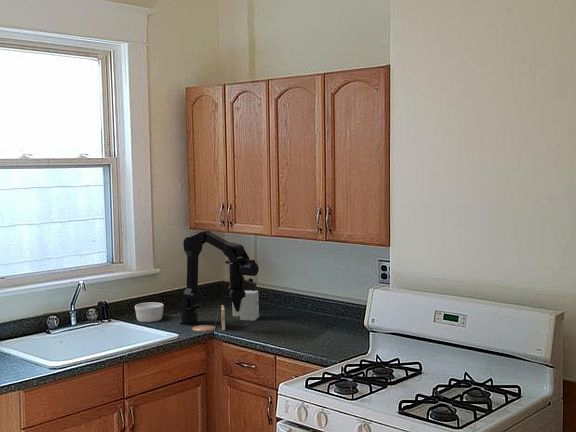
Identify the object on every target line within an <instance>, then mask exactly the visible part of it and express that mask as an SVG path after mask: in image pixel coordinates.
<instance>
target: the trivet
mask: <svg viewBox="0 0 576 432" xmlns="http://www.w3.org/2000/svg"><path fill="white" fill-rule="evenodd" d="M215 329H216V326H214V325H211V324H210V325H209V324H206V325H205V324H201V325H196V326H193V327H192V329H191V330H192V331H195V332H210V331H214V330H215Z"/></svg>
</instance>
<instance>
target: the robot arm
mask: <svg viewBox="0 0 576 432" xmlns="http://www.w3.org/2000/svg"><path fill="white" fill-rule="evenodd" d="M206 243H208V244H209V245H211V246H212V247H215V248H216V249H219V250H220V251H222V252H223V255H224V256H225V257H227V260H226V261H224V263H225V264H226V265H227V264H228V266H229V267H228V268H229V269H228V271H229V278H228V279H229V285H228V292H229V296H230V299H231V302H233V304H234V307H235V309H236V311H237V312H239V309H240V303H241V300H242V299H243V298H244V297H246V296H245V291H246V289H247V290H249V291H256V289H257V285H258V284H257V282H255V281H254V279H253V278H251V277H255V276H257V275H258V273H259V265H258V263H256V260H255V259H250V256H249V255H248V253H247V251H246V250H245V246H243V245H242V244H241V243H236V242H230V241H228V240H226V239H224V238H222V237H220V236H219V235H216V234H215V233H213V232H211V231H210V230H202V231H199V232H198V233H197V234H194V235H191V236H187V237H185V238H184V239H183V250H184V253H185V254H186V257H187V258H186V288H185V289H184V291H183V293H182V294H183V295H182V299H181V301H180V303H178V305H177V309H178V311H179V312H181V321H180V322H179V324H180V325H185V326H186V325H187V326H188V325H190V326H193V325H196V324H197V323H199V322H200V320H199V318H198V317H199V313H198V311H197V310H198V309H200V306H201V304H202V301H203V291H200V289H199V288H198V287H199V286H198V285H199V256H200V254H201V252H202V251H203V246H204V245H205V244H206ZM245 276H247V277H248V276H249V278H248V279H245Z"/></svg>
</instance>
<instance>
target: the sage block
mask: <svg viewBox="0 0 576 432" xmlns="http://www.w3.org/2000/svg"><path fill="white" fill-rule="evenodd" d="M231 302H232V301H231ZM231 304H232V305H231V306H232V317H240V316H243V310H242V300H241V303H240V309H239V312H237V311H236V309H235V307H234V304H233V302H232V303H231Z"/></svg>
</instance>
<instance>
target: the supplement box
mask: <svg viewBox="0 0 576 432" xmlns="http://www.w3.org/2000/svg"><path fill="white" fill-rule="evenodd" d="M244 291H245V296H246V297H244V298H243V299H242V310H243V316H239V317H240V318H239V319H240V321H256V320H257V319H258V318H260V311H259V310H260V309H259V307H260V303H259V300H260V299H259V290H255V291H252V290H244Z"/></svg>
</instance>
